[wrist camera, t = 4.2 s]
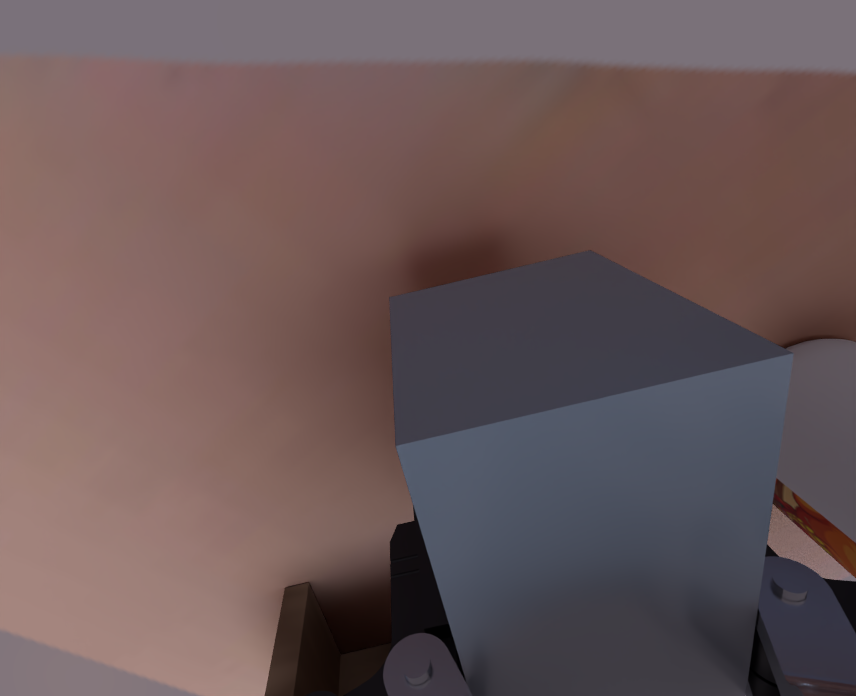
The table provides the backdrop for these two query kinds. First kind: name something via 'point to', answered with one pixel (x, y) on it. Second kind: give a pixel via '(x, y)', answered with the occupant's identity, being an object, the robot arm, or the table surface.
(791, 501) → the milk bottle
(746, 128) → the table surface
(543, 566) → the pale blue brick
